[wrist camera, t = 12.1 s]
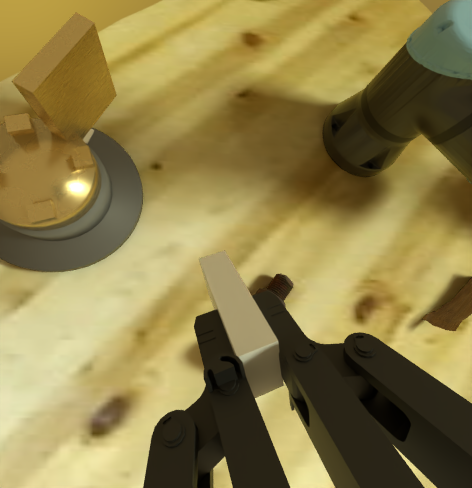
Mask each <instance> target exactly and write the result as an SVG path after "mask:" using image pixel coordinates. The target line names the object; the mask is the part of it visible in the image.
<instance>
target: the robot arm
mask: <svg viewBox="0 0 472 488" xmlns="http://www.w3.org/2000/svg"><path fill="white" fill-rule="evenodd" d="M420 134H422V135H424V136H425V137H426V138H427V139H428V140H429V141H430V142H431V143H432V144H433V145H434V146H435V147H436V148H437V149H438V150H439V151H440V152H441V153H442V154H443V155H444V156H445V157H446V158H447V159H448V160H449V161H450V162H451V163H452V164H453V165H454V166H455V167H456V168H457V169H458V170H459V171H460V172H461V173H462V174H463V175H464V176H465V177H466V178H467V180H468V181H469V183H471V184H472V0H450V1H448V2H446V3H445V4H443V5H442V6H440V7H439V8H438V9H437V10H436V11H435V12H434V13H433V14H432V15H431V16H430V17H429V18H428V19H427V20H426V21H425V22H424V23H423V24H422V25H421V26H420V27H419V28H417V29H416V30H415V31H414V32H413V33H412V34H411V35H410V36H409V38H408V39H407V42H406V44H405V45H404V46H403V47H402V48H401V49H400V50H399V51H398V52H397V53H396V55H395V56H394V57H393V58H392V59H391V60H390V61H389V62H388V63H387V64H386V65H385V67H384V68H383V69H382V70H381V71H380V72H379V73H378V74H377V75H376V76H375V78H374V79H373V80H372V81H371V82H370V83H369V84H368V85H367V87H366V88H365V89H363V90H362V91H360V92H358V93H357V94H355V95H353V96H351V97H350V98H348V99H346V100H345V101H343V102H341V103H340V104H339V105H337V106H336V107H335V108H334V110H333V111H332V112H331V113H330V114H329V116H328V117H327V119H326V121H325V123H324V127H323V139H324V143H325V146H326V149H327V151H328V153H329V155H330V156H331V158H332V159H333V160H334V161H335V162H336V163H337V164H338V165H339V166H340V167H341V168H342V169H344V170H345V171H347V172H349V173H351V174H354V175H357V176H364V177H368V176H373V175H376V174H378V173H380V172H382V171H383V170H385V169H387V168H388V167H389V166H391V165H392V164H393V163H394V162H395V160H396V159H397V158H398V157H399V155H400V154H401V153H402V151H403V150H404V149H405V148H406V146H407V145H408V144H409V143H410V141H411V140H413V139H414V138H416V137H417V136H419V135H420ZM199 261H200V265H201V268H202V272H203V275H204V279H205V282H206V285H207V289H208V292H209V296H210V299H211V301H212V304H213V307H214V309H215V310H213V311H211V312H208V313H205V314H202V315H200V316H197V317H196V320H195V324H194V329H195V333H196V337H197V341H198V345H199V349H200V353H201V357H202V361H203V365H204V381H205V383H206V387H205V389H204V392H203V393H202V395H201V396H200V398H199V399H198V400H197V401H196V402H195V403H194V404H192V405H191V406H190V407H189V408H188V409H186V410H185V411H184V410H174V411H172V412H169V413H167V414H166V415H165V416H164V417H162V418H161V419H160V421H159V422H158V424H157V425H156V426H155V429H154V432H153V435H152V438H151V444H150V450H149V456H148V462H147V468H146V474H145V480H144V486H143V488H213V468H214V467H215V466H216V465H217V464H218V463H219V462H220V461H221V460H222V459H223V458H224V457H226V461H227V465H228V469H229V473H230V477H231V481H232V485H233V488H290V486H289V483H288V481H287V478H286V476H285V473H284V471H283V468H282V466H281V463H280V461H279V458H278V456H277V453H276V451H275V448H274V446H273V443H272V441H271V438H270V436H269V433H268V431H267V428H266V426H265V423H264V421H263V418H262V416H261V413H260V411H259V408H258V406H257V403H256V400H255V398H257V397H259V396H261V395H263V394H266V393H268V392H270V391H272V390H275V389H277V388H279V387H281V386H284V385H283V380H284V382H285V384H286V386H287V388H288V390H289V399H290V406H291V409H292V410H294V407H295V409H296V411H297V413H298V415H299V417H300V419H301V421H302V423H303V425H304V427H305V429H306V431H307V433H308V435H309V437H310V439H311V441H312V443H313V445H314V447H315V448H316V450H317V452H318V454H319V456H320V458H321V460H322V462H323V464H324V466H325V468H326V470H327V472H328V474H329V476H330V478H331V480H332V482H333V484H334V486H335V488H424V486H423V485H422V484H421V482H420V481H419V480H418V478H417V477H416V476H415V474H414V473H413V472H412V470H411V469H410V468H409V466H408V465H407V464H406V462H405V461H404V460H403V458H402V457H401V455H400V454H399V453H398V451H397V450H396V449H395V447H396V448H397V449H398V450H399V451H400V452H401V453H402V454H403V455H404V456H405V457H406V458H407V459H408V460H409V461H410V462H411V463H412V464H413V465H414V466H416V467H417V468H418V469H419V470H420V471H421V472H422V473H423V474H424V475H425V476H426V477H427V478H428V479H429V480H430V481H431V482H432V483H433V484H434V485H435V486H436V487H437V488H472V403H470V402H469V401H467V400H466V399H464V398H463V397H461V396H460V395H459V394H457V393H456V392H454V391H453V390H451V389H450V388H448V387H447V386H446V385H444V384H443V383H441V382H440V381H438V380H437V379H435V378H434V377H432V376H431V375H430V374H428V373H427V372H425V371H424V370H422V369H421V368H419V367H418V366H416V365H415V364H414V363H412V362H411V361H409V360H408V359H406V358H405V357H403V356H402V355H400V354H399V353H398V352H396V351H395V350H393V349H392V348H390V347H389V346H387V345H386V344H385V343H383V342H382V341H380V340H379V339H377V338H376V337H374V336H372V335H370V334H366V333H353V334H351V335H349V336H348V337H347V338H346V339H345V341H344V343H340V344H319V343H316V342H315V341H312V340H310V339H309V338H307V337H306V335H305V334H304V333H303V332H302V330H301V329H300V328H299V326H298V325H297V323H296V322H295V321H294V319H293V318H292V316H291V315H290V314H289V312H288V311H287V310H286V308H285V307H284V305H282V303H281V301H280V300H279V298H278V297H277V296H276V295H275V294H273V293H272V292H270V291H268V290H267V291H264V292H261V293H258V294H256V295H253V296H252V295H251V294H250V292H249V290H248V289H247V287H246V285H245V284H244V282H243V280H242V278H241V277H240V275H239V273H238V272H237V270H236V268H235V267H234V265H233V263H232V262H231V260H230V258H229V256H228V255H227V253H226V251H225V250H224V251H221V252H218V253H215V254H212V255H209V256H206V257H202V258H199ZM392 444H393V445H394V446H395V447H394V446H393V445H392Z"/></svg>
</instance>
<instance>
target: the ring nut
mask: <svg viewBox="0 0 472 488" xmlns="http://www.w3.org/2000/svg"><path fill="white" fill-rule="evenodd" d="M12 82H13V84H14V85H15V86H16V87H17V89H18V90H19V91H20V93H21V94H22V95H23V97H24V98H25V99H26V100H27V102H28V103H29V104H30V106H31V107H32V108H33V109H34V111H35V112H36V113H37V115H38V116H39V117H40V119H31V117H30V115H29V114H28V113H24V114H17V115H10V116H4V120H5V123H3V124H1V125H0V219H1V220H3V221H5V222H8V223H10V224H12V225H15V226H17V227H20V228H24V229H28V230H37V231H45V230H53V229H58V228H62V227H65V226H67V225H70V224H72V223H74V222H75V221H77V220H79V219H80V218H82V217H83V216H84V215H85V214H86V213H87V212H88V211H89V210H90V209H91V208H92V207H93V205H94V204H95V202H96V200H97V198H98V196H99V193H100V189H101V182H102V180H101V172H100V168H99V165H98V163H97V161H96V159H95V158H94V156H93V154H92V153H91V150H90V148H89V146H87V145H86V143H85V142H84V141H83V138H84V137H85V136H86V134H87V133H88V132H89V131H90V129H91V128H92V127H93V125H94V124H95V123H96V121H97V120H98V119H99V117H100V116H101V115H102V114H103V112H104V111H105V110H106V108H107V107H108V106H109V104H110V103H111V102H112V100H113V99H114V98H115V97H116V92H115V88H114V85H113V82H112V79H111V75H110V72H109V69H108V66H107V62H106V59H105V56H104V53H103V49H102V46H101V43H100V40H99V36H98V33H97V30H96V27H95V23H93V22H92V21H90V20H88V19H87V18H85V17H83V16H81V15H80V14H78V13H75V14H74V15H73V16H72V17H71V18H70V19H69V20H68V22H67V23H66V24H65V25H64V26H63V27H62V28H61V29H60V30H59V31H58V32H57V33H56V34H55V35H54V37H53V38H52V39H51V40H50V41H49V42H48V43H47V44H46V45H45V46H44V47H43V49H41V50H40V51H39V53H38V54H37V55H36V56H35V57H34V58H33V59H32V60H31V61H30V62H29V63H28V64H27V65H26V67H25V68H24V69H23V70H22V71H21V72H20V73H19V74H18V75H17V76H16V77H15V78H14V79H13V80H12Z"/></svg>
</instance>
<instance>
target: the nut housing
mask: <svg viewBox="0 0 472 488" xmlns="http://www.w3.org/2000/svg"><path fill="white" fill-rule="evenodd" d="M83 141H84V142H85V143H86V145H87V146H89V148H90V150H91V153H92V154H93V156H94V158H95V159H96V161H97V163H98V165H99V168H100V172H101V180H102V182H101V189H100V193H99V196H98V198H97V200H96V202H95V204H94V205H93V207H92V208H91V209H90V210H89V211H88V212H87V213H86V214H85V215H84V216H83V217H82V218H80V219H79V220H77V221H75V222H74V223H72V224H70V225H67V226H65V227H62V228H58V229H53V230H45V231H37V230H28V229H24V228H20V227H17V226H15V225H12V224H10V223H8V222H5V221H3V220H1V219H0V258H1V259H3V260H5V261H7V262H8V263H11V264H14V265H16V266H19V267H23V268H27V269H32V270H37V271H46V272H64V271H71V270H76V269H80V268H84V267H87V266H90V265H92V264H95V263H97V262H99V261H101V260H103V259H105V258H106V257H108V256H109V255H111V254H112V253H114V252H115V251H116V250H117V249H118V248H119V247H121V246H122V245H123V243H124V242H125V241H126V240H127V239H128V238H129V236H130V235H131V233H132V232H133V230H134V229H135V227H136V225H137V223H138V220H139V217H140V214H141V210H142V204H143V191H142V184H141V180H140V177H139V174H138V171H137V169H136V166H135V164H134V163H133V161H132V159H131V158H130V156H129V155H128V154H127V152H126V151H125V150H124V149H123V148H122V147H121V146H120V145H119V144H118V143H117V142H116V141H114V140H113V139H112V138H110V137H109V136H107V135H106V134H104V133H102V132H100V131H98V130H96V129H94V128H91V129H90V131H89V132H88V133H87V134H86V136H85V137H84V138H83Z"/></svg>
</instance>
